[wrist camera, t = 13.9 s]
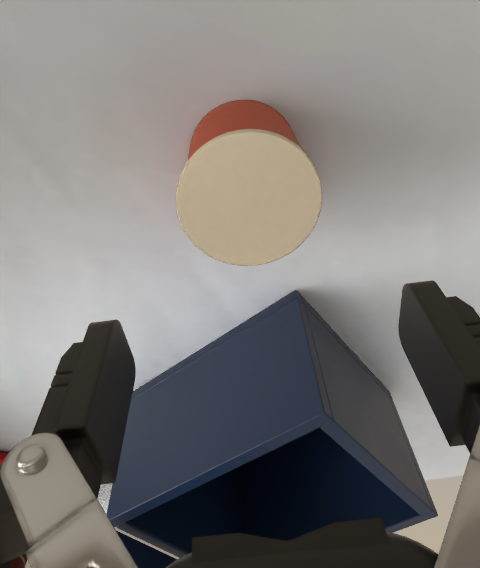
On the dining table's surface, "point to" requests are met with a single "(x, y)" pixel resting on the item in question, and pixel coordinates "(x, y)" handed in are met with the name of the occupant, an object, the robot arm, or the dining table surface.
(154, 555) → the cool box lid
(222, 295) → the dining table surface
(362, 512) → the navy blue open box
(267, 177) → the plastic tub
